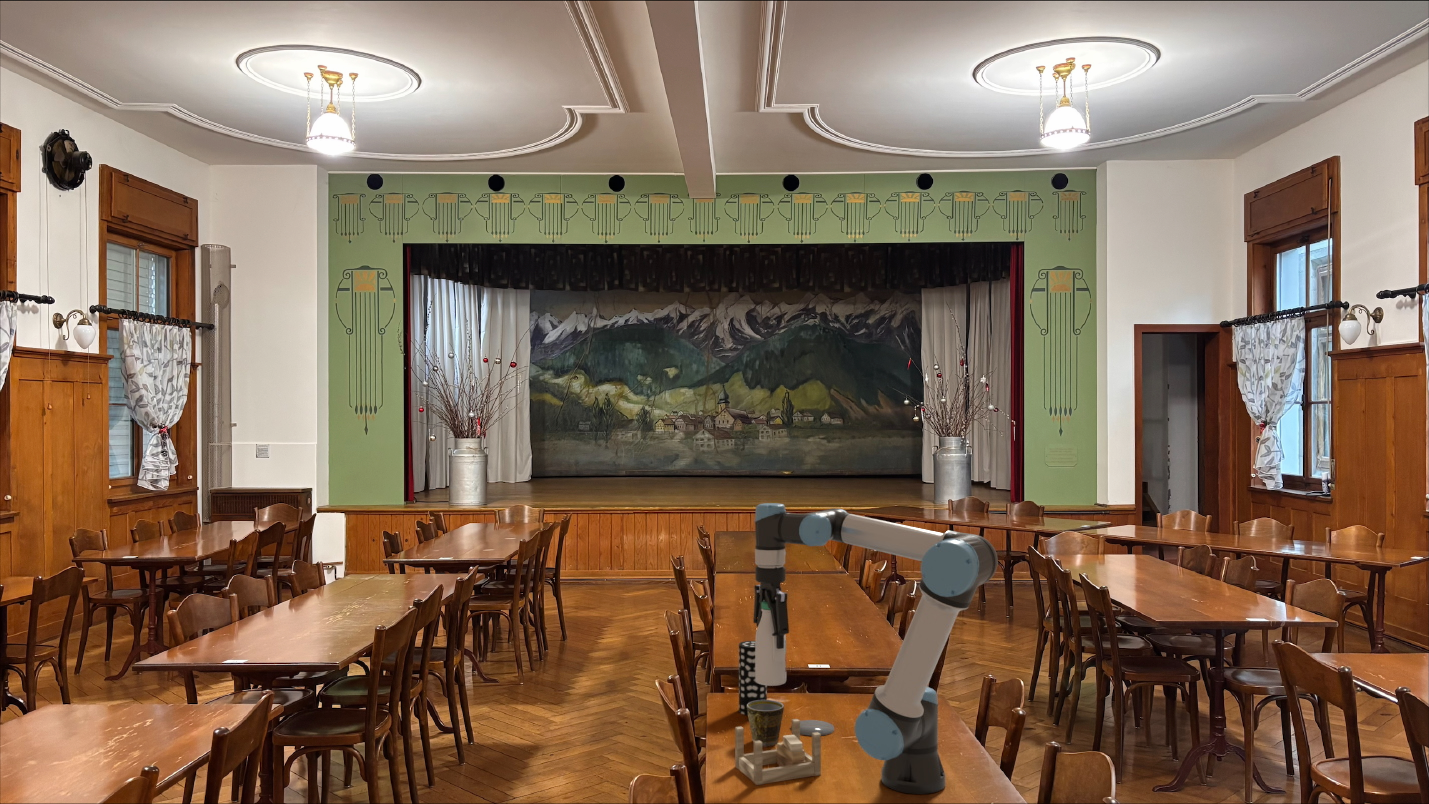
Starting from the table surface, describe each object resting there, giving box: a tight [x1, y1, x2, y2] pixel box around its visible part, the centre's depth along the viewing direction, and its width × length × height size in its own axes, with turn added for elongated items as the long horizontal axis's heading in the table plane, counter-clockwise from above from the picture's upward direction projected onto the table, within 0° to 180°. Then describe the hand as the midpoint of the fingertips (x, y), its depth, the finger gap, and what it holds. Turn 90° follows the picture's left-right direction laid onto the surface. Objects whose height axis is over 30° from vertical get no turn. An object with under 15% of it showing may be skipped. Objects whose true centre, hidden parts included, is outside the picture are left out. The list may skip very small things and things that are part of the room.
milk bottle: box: [754, 601, 787, 687], centre depth 239 cm, size 8×8×20 cm
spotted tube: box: [738, 640, 768, 716], centre depth 286 cm, size 8×8×20 cm
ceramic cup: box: [747, 699, 785, 748], centre depth 258 cm, size 13×10×10 cm
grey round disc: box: [790, 719, 835, 737], centre depth 270 cm, size 12×12×1 cm
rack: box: [734, 718, 822, 786], centre depth 238 cm, size 13×17×10 cm
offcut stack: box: [776, 734, 806, 767], centre depth 240 cm, size 8×4×7 cm, turn 22°
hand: (770, 657), depth 239 cm, fingers closed on milk bottle, 8 cm apart
